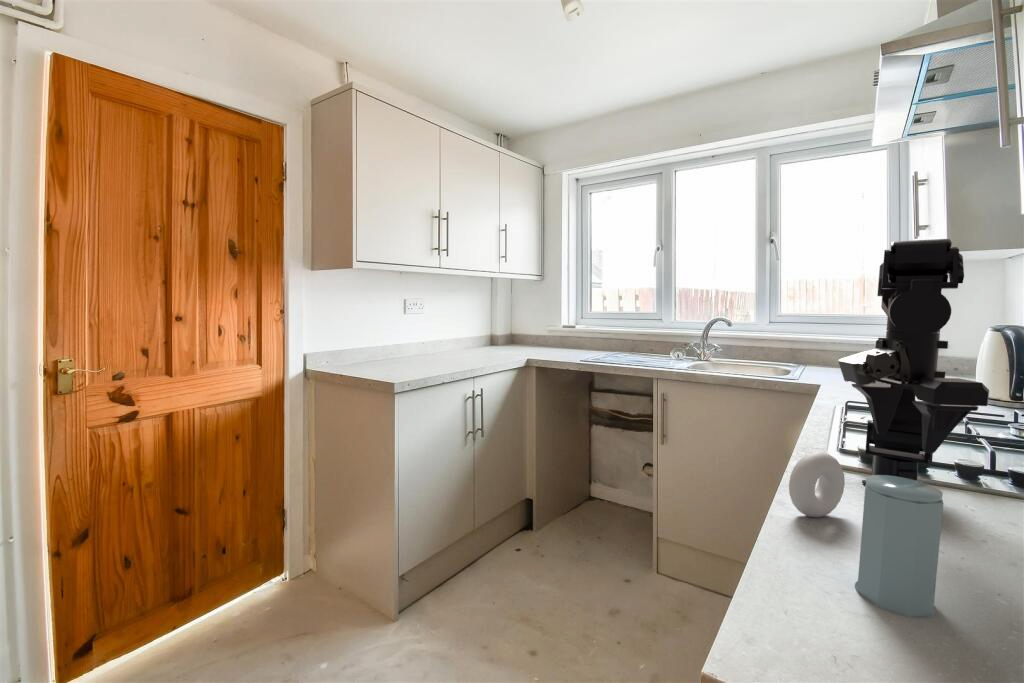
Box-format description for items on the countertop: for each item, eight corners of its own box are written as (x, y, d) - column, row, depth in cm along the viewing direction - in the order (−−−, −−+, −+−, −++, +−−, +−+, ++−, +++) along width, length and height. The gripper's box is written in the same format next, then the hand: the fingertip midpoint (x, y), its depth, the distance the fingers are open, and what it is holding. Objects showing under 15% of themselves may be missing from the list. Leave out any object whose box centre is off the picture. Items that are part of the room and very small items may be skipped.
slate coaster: (841, 579, 57) (841, 576, 57) (904, 583, 56) (904, 580, 56) (881, 618, 50) (881, 615, 50) (953, 623, 49) (954, 620, 49)
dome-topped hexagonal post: (843, 581, 56) (851, 475, 55) (893, 578, 56) (901, 474, 55) (893, 617, 49) (904, 499, 48) (948, 613, 50) (960, 496, 49)
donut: (825, 506, 77) (830, 445, 76) (847, 515, 74) (852, 452, 73) (781, 516, 73) (785, 452, 72) (802, 526, 70) (806, 459, 69)
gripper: (814, 327, 76) (808, 424, 78) (898, 335, 58) (888, 462, 59) (889, 328, 75) (881, 426, 77) (998, 337, 57) (986, 466, 58)
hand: (903, 442), depth 68 cm, fingers open, 9 cm apart
